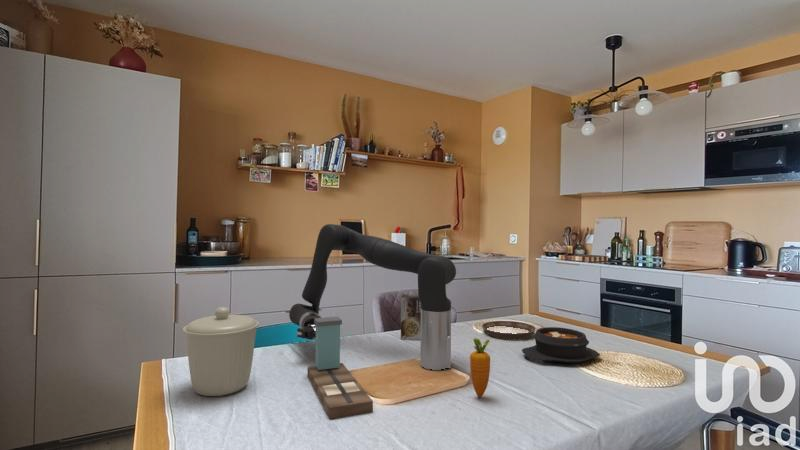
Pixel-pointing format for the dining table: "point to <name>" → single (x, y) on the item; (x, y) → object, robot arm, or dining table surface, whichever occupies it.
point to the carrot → (480, 367)
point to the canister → (220, 352)
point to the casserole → (560, 346)
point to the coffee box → (410, 317)
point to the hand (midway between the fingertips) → (322, 338)
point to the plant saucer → (509, 324)
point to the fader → (327, 342)
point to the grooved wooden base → (339, 392)
